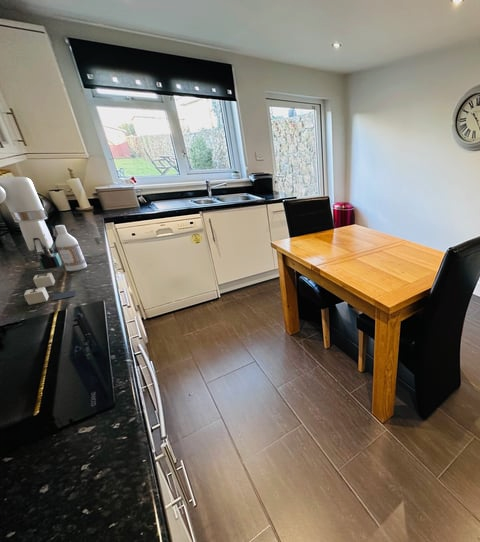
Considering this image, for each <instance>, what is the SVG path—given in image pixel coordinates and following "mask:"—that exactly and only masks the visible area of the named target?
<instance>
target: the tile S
mask: <svg viewBox="0 0 480 542" xmlns="http://www.w3.org/2000/svg"><path fill="white" fill-rule="evenodd" d="M52 253H53V254H51V256H52V257H54V260H55V262H56V264H57V267H56V268H60V267H61V266H62V264H63V261H62V259H61V257H60V254H59V252H55V253H54V252H52ZM37 261H38V263H39V265H40V267H41V269H42V270H45V269H44V267H43V265H42V263H41V260H40V258H39V257H38V258H37Z"/></svg>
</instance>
